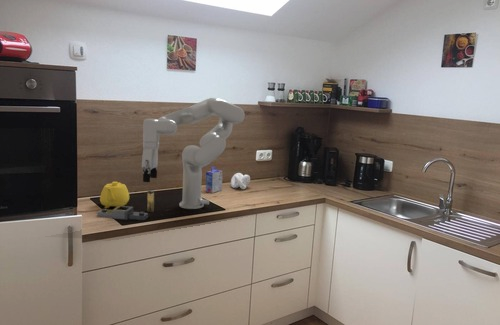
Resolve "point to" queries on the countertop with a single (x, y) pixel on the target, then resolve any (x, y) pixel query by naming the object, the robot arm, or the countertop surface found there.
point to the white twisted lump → (240, 181)
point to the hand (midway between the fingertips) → (150, 179)
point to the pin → (150, 201)
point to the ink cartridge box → (213, 180)
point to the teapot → (114, 195)
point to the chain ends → (122, 213)
